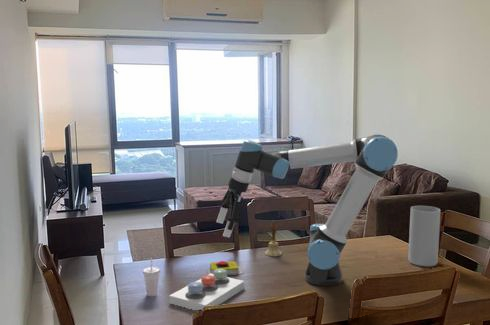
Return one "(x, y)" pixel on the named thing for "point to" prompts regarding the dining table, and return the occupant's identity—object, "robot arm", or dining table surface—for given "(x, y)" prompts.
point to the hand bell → (273, 243)
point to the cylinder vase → (424, 235)
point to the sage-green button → (220, 273)
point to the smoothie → (151, 279)
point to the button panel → (207, 294)
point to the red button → (208, 280)
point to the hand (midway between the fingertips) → (222, 229)
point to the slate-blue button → (195, 287)
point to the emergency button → (225, 267)
